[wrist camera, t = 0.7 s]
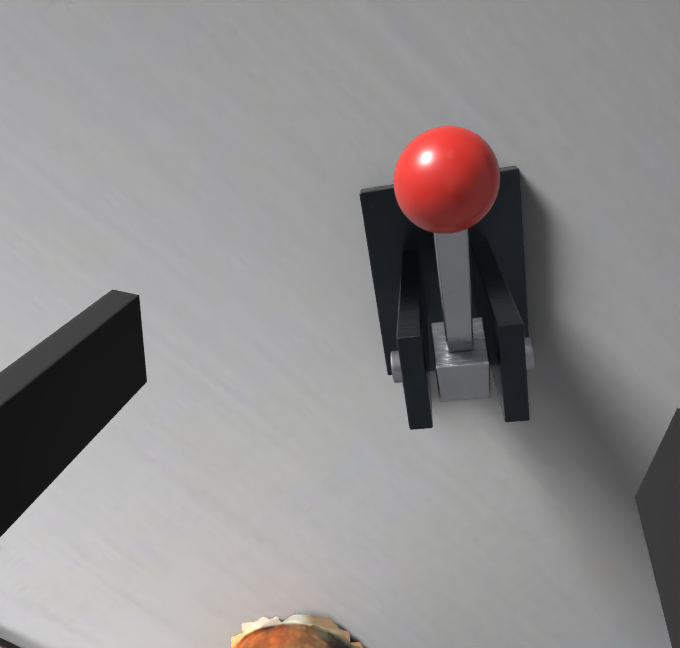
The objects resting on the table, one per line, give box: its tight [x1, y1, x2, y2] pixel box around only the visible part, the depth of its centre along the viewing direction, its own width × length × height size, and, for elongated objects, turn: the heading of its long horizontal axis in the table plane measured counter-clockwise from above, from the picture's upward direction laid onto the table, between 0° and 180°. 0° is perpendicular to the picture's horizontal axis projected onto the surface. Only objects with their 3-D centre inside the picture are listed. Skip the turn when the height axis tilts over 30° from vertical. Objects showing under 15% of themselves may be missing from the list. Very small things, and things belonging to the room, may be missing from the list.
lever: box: [394, 126, 500, 402], centre depth 22 cm, size 13×3×3 cm, turn 10°
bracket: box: [360, 166, 535, 430], centre depth 31 cm, size 12×9×14 cm
